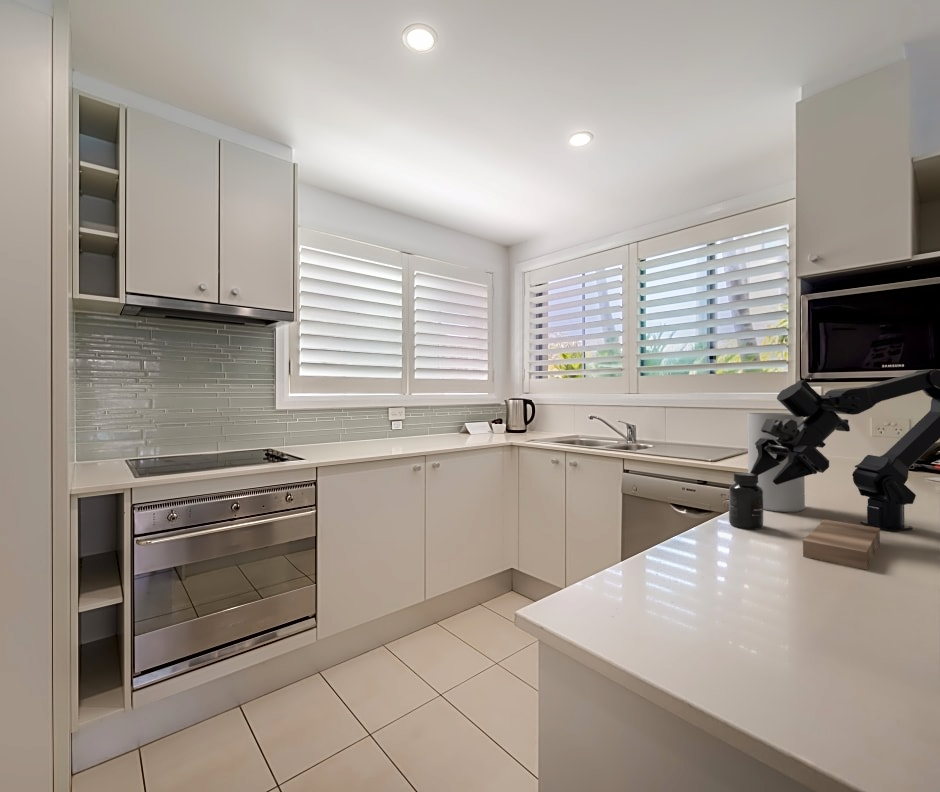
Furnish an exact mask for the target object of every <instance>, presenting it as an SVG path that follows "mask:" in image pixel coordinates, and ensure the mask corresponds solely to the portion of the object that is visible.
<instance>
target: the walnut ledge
mask: <svg viewBox="0 0 940 792" xmlns="http://www.w3.org/2000/svg"><path fill="white" fill-rule="evenodd" d="M880 544H881V529H880V528H876V527H872V526H868V525H864V524H855V523H849V522H842V521H835V520H829V519H823V520H822V521H821V522H820V523H819V524H818V525H817V526H816V527H815V528H814V529H813V530H812V531H811V532H810V533H809V534H808V535H807V536H806V537H805V538H804V539H802V556H803V557H804V556H806V557H805V558H809V557H810V558H809V559H813V558H816V559H815V560H818V559H821V560H820V561H823V560H826V561H825V562H828V561H831V562H830V563H833V562H835V563H834V564H838V563H840V564H839V565H842V564H844V565H843V566H847V565H849V566H848V567H852V566H853V567H852V568H858V569H863V570H868V568H869V566H870V564H871V561H872V560H873V558H874V555H875V554H876V552H877V550H878V548H879V546H880Z"/></svg>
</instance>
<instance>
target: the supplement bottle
mask: <svg viewBox="0 0 940 792" xmlns="http://www.w3.org/2000/svg"><path fill="white" fill-rule="evenodd" d="M733 482H734V483H732V484H731V485H730V486H729V488H728V523H729V524H730V525H731V526H733V527H736V528H739V529H745V530H761V529H762V528H763V527H764V509H763V490H762V488H761V487H759V486H758V485H757V483H759V481H758V475H757V474H752V473H748V472H734V473H733Z"/></svg>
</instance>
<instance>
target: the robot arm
mask: <svg viewBox="0 0 940 792" xmlns="http://www.w3.org/2000/svg"><path fill="white" fill-rule="evenodd" d="M920 391H922V392H923V393H924V394H925V395H926V396H928V397H929V398H931V401H930V410H929V411H928V412H927V413H926V414H925V415H924V416H923V417H922V418H920V420H919V421H918V422H917V423H916V424H914V426H912V427H911V429H909V430H908V431H907V432H906V433H905V434H904V435H902V437H901V438H900V439H898V441H897V442H896V443H895V444H893V445H892V446H891V447H890V448H889V449H888V450H887V451H886V452H885V453H884V454H882V455H880V456H877V455H874V454H867V455H866V456H865V457H864V458H863V459H862V461H861V462H860V463H858V464H856V465H854V468H855V469H854V471H853V472H852V474H851V476H852V481H853V483H854V485H855V486H856V488H857V489H858V492H859V495H860V496H863V497H868V498H867V506H866V517H867V518H866V520H862V521H860V525H863V526H869V527H876V528H880V530H884V531H888V532H900V531H909V530H910V531H911V530H913V526H909V525H905V505H914V502H915V500H916V496H917V495H916V494H915V492H914V491H912V489H910V488H909V487H908V486H907V485H906V483H907V481H908V479H909V472H910V471H909V469H910V468H911V467H912V466H913V465H914V464H915V463H916V462H917V461H918V460H919V459H921V457H922V456H924V454H926V453H927V451H929V450H930V449H931V448H932V447H933V446H934V445H935V444H936V443H938V441H939V440H940V369H936V368H934V369H931V368H930V369H918V370H917V371H914V372H911V373H908V374H905V375H900V376H897V377H893V378H891V379H886V380H883V381H880V382H876V383H872V384H869V385H864V386H856V387H854V386H853V387H843V388H833V389H830V390H828V391H826V392H825V393H824V394H822V395H821V394H819V393H818V392H817V391H816V390H814V388H812V386H811V385H810V383H809V382H808V381H806V380H803V379H802V380H798V381H797V382H796V383H794V384H792V385H789V386H788V387H786V388H784V389H782V390H781V391H780V392H779V393H778V395H777V396H776V399H777V401H778V402H779V403H780V404H781V405H783V407H784V408H786V409H787V410H788V411H789V413H792V414H793V415H794V416H795V417H801V416H802V417H804V420H803V421H802V422H801V423H800V424H799V425H798V426H797V422H796V421H794V420H791V419H785V420H784V421H783V422H782V421H781V420H776V419H766V421H765V423H764V425H763V427H762V429H761V431H762V432H764V433H768V434H770V435H773V436H775V437H777V438H776V439H775V440H776V441H777V442H778V443H780V444H781V446H780V445H779V444H778V443H777V442H775V441H774V440H773V439H767V438H760V439H759V440H758V441H757V442H756V443H755V445H756V449H757V450H758V457H757V460H756V462H755V464H754V466H753V468H752V470H751V472H750V473H752V474H757V475H760V474H762V473H764V472H766V471H768V470H770V469H772V468H774V467H776V466H778V465H780V463H779V462H781V461H784V460H785V459H786V458H787V457H788V462H787V464H786V465H785V466H784V467H783V468H782V469H781V471H780V472H779V473H778V474H777V475H776V477H775V478H774V479H773V483H774V484H776V485H778V484H781V483H784V482H787V481H790V480H793V479H797V478H800V477H804V476H805V477H806V476H807V477H808V476H810V475H816V474H818V473H821V474H823V473H824V472H825V471H826V470H828V469H829V468H830V460H829V459H828V458H827V457H826V456H825V455H824V454H823V453H822V452H821V451H819V449H818V448H824V447H825V446H826V443H825V442H824V441H825V440H826V439H828V438H829V437H830V435H832V434H833V432H835V431H836V432H837V431H839V432H846V433H847V432H850V431H851V428H850V425H849V419H846V418H845V419H843V418H842V417H841V416H839V415H840V414H841V415H852V416H853V415H859V414H862V413H864V412H865V411H866V412H867V411H868V410H870V409H872V408H873V407H875V406H876V404H879V403H881V402H884V401H887V400H890V399H895V398H899V397H902V396H906V395H909V394H913V393H917V392H920Z"/></svg>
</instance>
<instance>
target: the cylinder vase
mask: <svg viewBox="0 0 940 792" xmlns="http://www.w3.org/2000/svg"><path fill="white" fill-rule="evenodd" d="M766 419H776V420H781V421H782V422H783V421H784V420H785V419H791V420H794V421H796V422H797V426H798V425H799V424H800V423H801V422H802V421H803V420H805V417H802V416H801V417H795V416H794V415H793V414H792V413H791V412H749V413H747V470H748V471H747V473H750V472H751V470H752V468H753V466H754V464H755V462H756V460H757V457H758V450H757V449H756V445H755V443H756V442H757V441H758V440H759V439H760V438H767V439H773V440H774V441H775V442H777V441H776V440H775V439H776V438H777V437H775V436H773V435H770V434H768V433H764V432H762V431H761V429H762V427H763V425H764V423H765V421H766ZM777 443H778V442H777ZM778 444H779V445H780V446H781V444H780V443H778ZM787 462H788V457H787V458H786V459H785V460H784V461H781V462H779V463H780V465H778V466H776V467H774V468H772V469H770V470H768V471H766V472H764V473H762V474H760V475H758V481H759V483H757V485H758V486H759V487H761V488H762V490H763V511H770V512H771V511H772V512H779V513H780V512H781V513H797V512H798V513H799V512H801V511H803V510H805V507H806V503H805V501H806V495H805V493H806V490H805V485H806V484H805V479H806V478H805V477H806V476H804V477H800V478H797V479H793V480H790V481H787V482H784V483H781V484H778V485H776V484H774V483H773V479H774V478H775V477H776V475H777V474H778V473H779V472H780V471H781V469H782V468H783V467H784V466H785V465H786V464H787Z"/></svg>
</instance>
